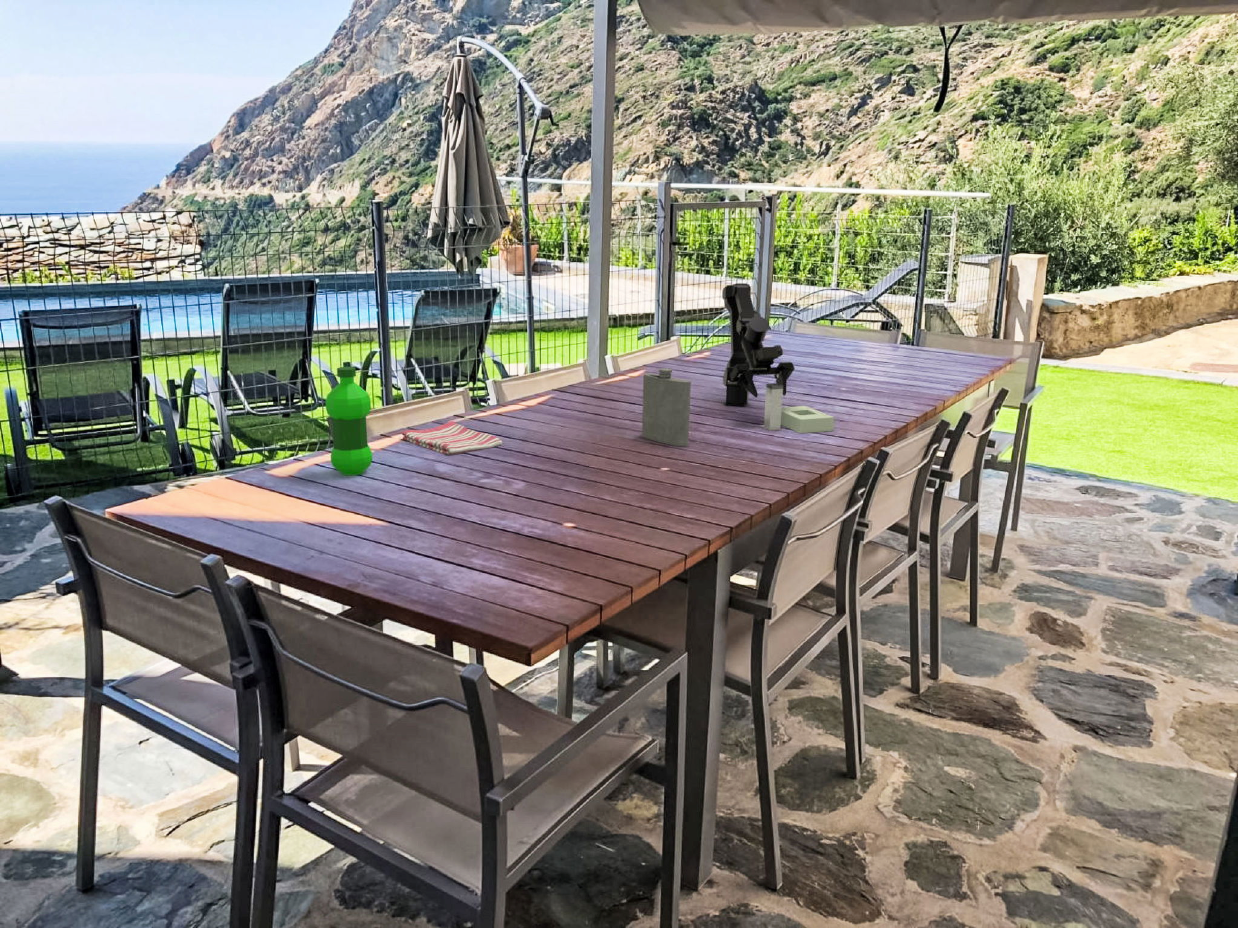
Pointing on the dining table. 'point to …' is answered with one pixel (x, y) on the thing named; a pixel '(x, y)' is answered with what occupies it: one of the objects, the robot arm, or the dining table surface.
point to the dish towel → (451, 439)
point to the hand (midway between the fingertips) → (770, 395)
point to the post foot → (806, 419)
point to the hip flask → (666, 408)
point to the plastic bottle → (349, 424)
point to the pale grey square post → (773, 406)
